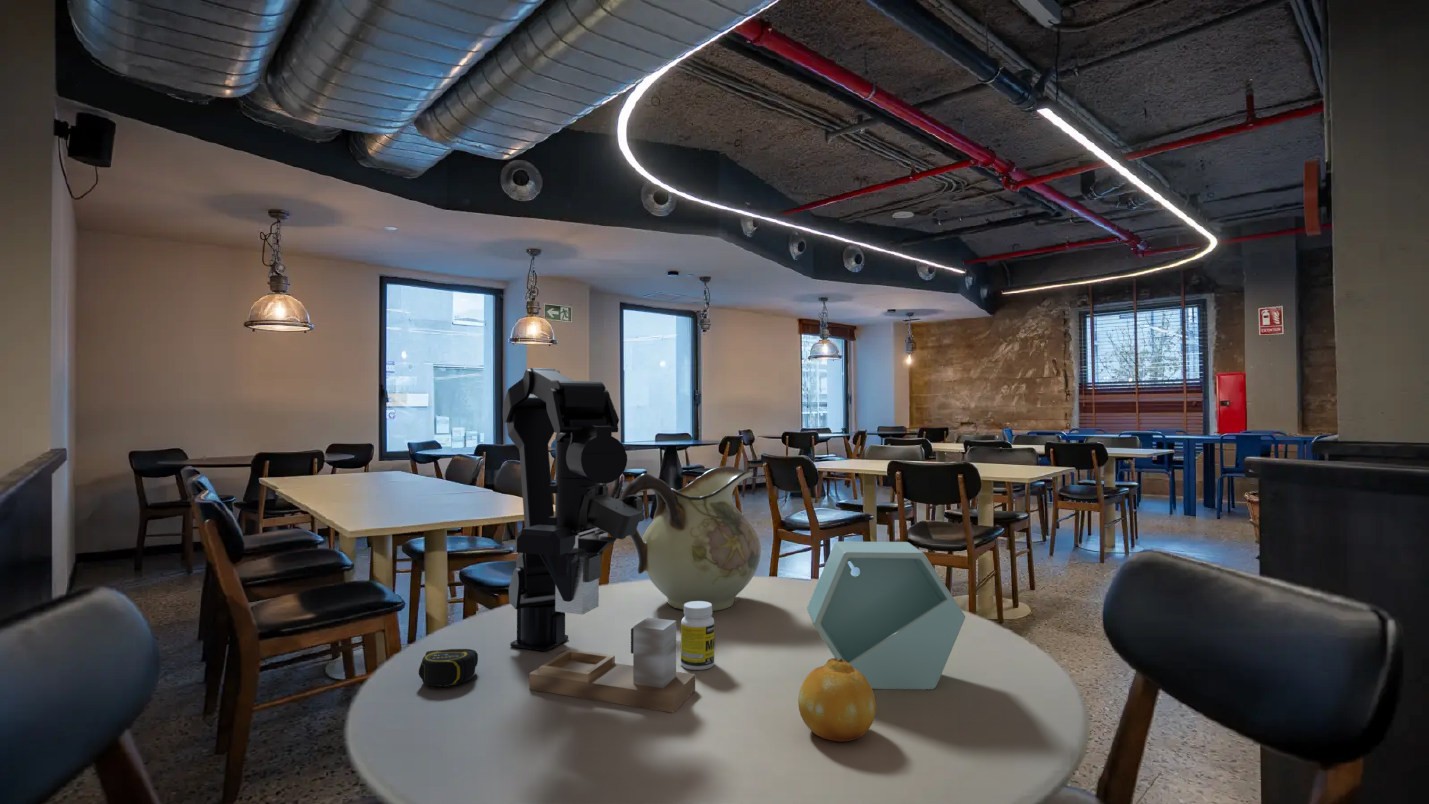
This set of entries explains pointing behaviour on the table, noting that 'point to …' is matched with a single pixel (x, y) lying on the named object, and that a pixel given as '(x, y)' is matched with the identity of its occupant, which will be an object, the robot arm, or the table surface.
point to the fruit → (837, 701)
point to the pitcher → (697, 539)
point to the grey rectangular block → (583, 586)
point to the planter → (886, 614)
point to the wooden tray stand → (623, 672)
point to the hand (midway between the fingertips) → (576, 596)
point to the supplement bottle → (697, 636)
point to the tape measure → (448, 666)
